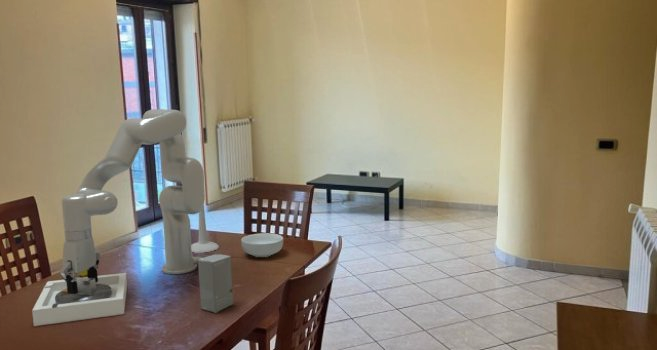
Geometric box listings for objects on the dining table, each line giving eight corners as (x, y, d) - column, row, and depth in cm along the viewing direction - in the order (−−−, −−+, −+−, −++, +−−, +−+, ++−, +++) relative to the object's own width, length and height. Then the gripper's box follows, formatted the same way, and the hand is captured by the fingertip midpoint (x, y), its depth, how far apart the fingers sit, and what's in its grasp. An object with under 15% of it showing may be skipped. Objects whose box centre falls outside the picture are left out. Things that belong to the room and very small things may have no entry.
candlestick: (194, 243, 228) (191, 176, 223) (223, 244, 226) (220, 176, 221) (182, 252, 215) (178, 181, 210) (212, 253, 213) (209, 181, 209)
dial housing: (127, 286, 179) (125, 271, 178) (123, 314, 156) (122, 297, 155) (48, 295, 171) (47, 280, 170) (33, 326, 148) (31, 309, 148)
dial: (121, 289, 169) (120, 271, 168) (90, 309, 154) (89, 290, 153) (78, 286, 172) (76, 269, 171) (43, 305, 157) (41, 286, 156)
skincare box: (215, 314, 156) (213, 263, 153) (198, 309, 159) (195, 259, 157) (234, 304, 163) (233, 255, 160) (218, 299, 166) (215, 251, 164)
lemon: (86, 280, 185) (84, 258, 183) (72, 279, 186) (70, 257, 184) (95, 274, 190) (94, 253, 189) (82, 273, 191) (80, 252, 190)
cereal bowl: (291, 252, 214) (291, 236, 213) (266, 264, 200) (265, 246, 199) (259, 246, 223) (259, 230, 222) (233, 257, 209) (232, 240, 208)
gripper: (85, 226, 169) (90, 277, 172) (47, 241, 152) (53, 297, 155) (106, 227, 168) (110, 278, 170) (70, 243, 151) (75, 299, 154)
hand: (83, 287), depth 163 cm, fingers open, 9 cm apart
